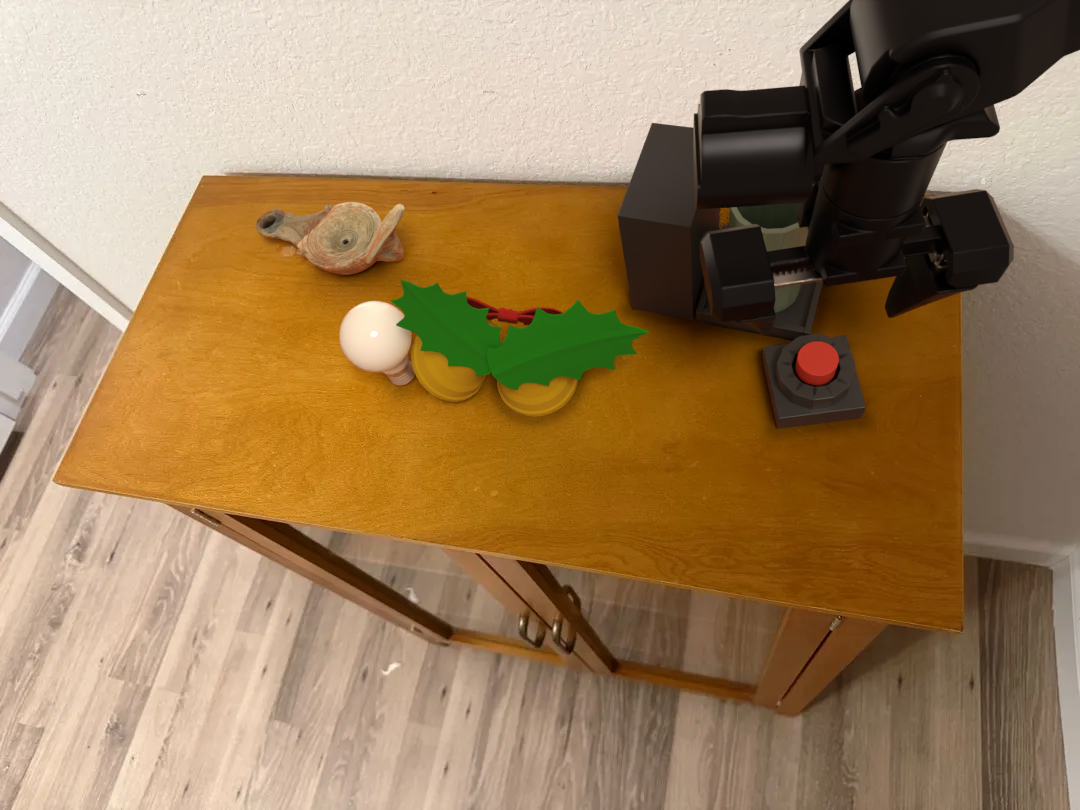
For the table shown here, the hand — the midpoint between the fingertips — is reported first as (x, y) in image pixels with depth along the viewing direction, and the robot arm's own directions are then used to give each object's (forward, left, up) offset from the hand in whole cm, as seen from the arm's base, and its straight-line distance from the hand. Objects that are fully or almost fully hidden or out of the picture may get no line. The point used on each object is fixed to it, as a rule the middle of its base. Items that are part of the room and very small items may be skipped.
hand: (826, 321), depth 58 cm
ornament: (+24, -5, -11) cm, 26 cm away
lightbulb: (+37, -7, -11) cm, 39 cm away
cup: (+2, -11, -10) cm, 15 cm away
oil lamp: (+44, -23, -11) cm, 51 cm away
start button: (0, 0, -7) cm, 7 cm away
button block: (0, 0, -11) cm, 11 cm away
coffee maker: (+5, -12, -11) cm, 17 cm away
